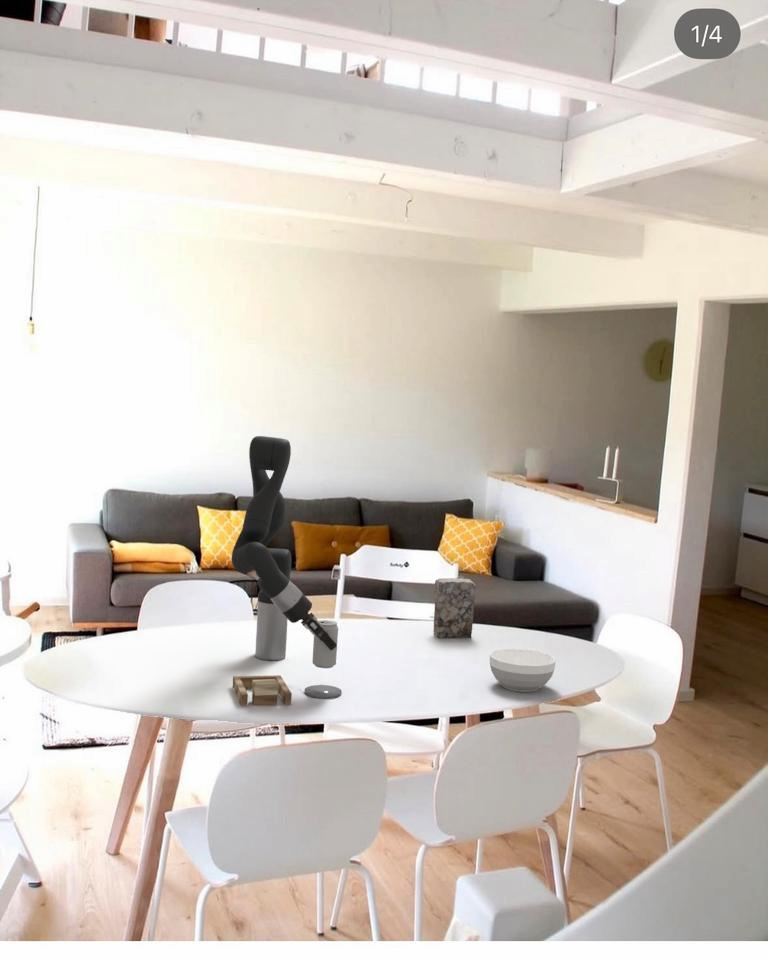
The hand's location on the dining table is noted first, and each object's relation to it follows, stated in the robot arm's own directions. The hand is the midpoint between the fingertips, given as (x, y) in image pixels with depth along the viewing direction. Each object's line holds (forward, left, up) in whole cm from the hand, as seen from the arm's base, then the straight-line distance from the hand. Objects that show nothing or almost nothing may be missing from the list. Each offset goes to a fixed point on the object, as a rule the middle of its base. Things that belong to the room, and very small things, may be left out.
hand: (331, 644), depth 276 cm
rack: (+1, -19, -13) cm, 23 cm away
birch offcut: (+7, -19, -11) cm, 23 cm away
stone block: (-62, +57, -14) cm, 85 cm away
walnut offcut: (+7, -19, -14) cm, 24 cm away
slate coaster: (0, -2, -13) cm, 13 cm away
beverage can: (0, -2, -6) cm, 6 cm away
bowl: (-2, +57, -14) cm, 59 cm away
